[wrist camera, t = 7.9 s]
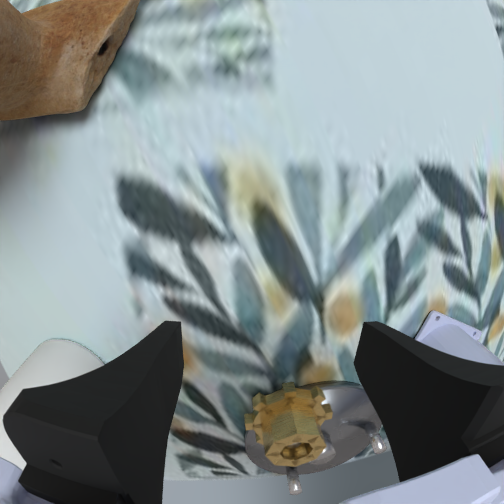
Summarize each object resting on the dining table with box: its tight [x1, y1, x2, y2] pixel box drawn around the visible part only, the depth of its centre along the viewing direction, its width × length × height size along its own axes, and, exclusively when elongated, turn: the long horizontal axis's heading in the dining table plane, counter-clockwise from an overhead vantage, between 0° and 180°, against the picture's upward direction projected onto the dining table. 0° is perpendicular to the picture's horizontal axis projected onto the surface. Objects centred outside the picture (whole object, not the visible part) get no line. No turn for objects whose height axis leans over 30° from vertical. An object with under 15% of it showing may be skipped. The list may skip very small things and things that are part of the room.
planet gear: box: [244, 382, 333, 467], centre depth 21 cm, size 7×7×4 cm
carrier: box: [245, 381, 387, 495], centre depth 24 cm, size 14×14×5 cm
